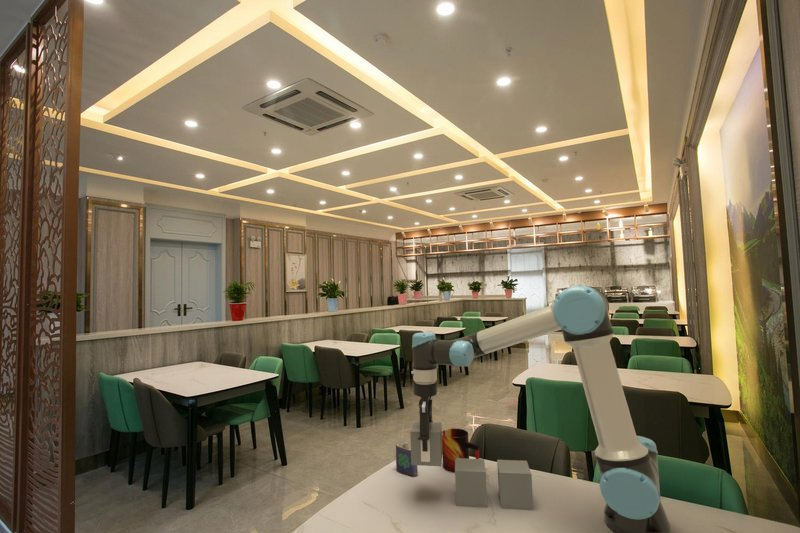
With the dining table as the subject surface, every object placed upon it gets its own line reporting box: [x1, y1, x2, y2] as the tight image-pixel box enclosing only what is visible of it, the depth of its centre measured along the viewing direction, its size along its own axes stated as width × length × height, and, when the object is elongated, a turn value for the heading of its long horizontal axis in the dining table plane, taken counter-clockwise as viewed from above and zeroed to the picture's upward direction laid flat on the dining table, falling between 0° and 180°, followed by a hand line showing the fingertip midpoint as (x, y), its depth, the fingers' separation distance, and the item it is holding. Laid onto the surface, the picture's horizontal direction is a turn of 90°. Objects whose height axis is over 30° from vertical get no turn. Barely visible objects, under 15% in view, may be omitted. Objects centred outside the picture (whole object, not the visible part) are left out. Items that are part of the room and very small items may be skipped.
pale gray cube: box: [454, 458, 488, 508], centre depth 120 cm, size 9×9×10 cm
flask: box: [395, 441, 419, 478], centre depth 138 cm, size 9×3×11 cm, turn 50°
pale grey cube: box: [496, 459, 534, 511], centre depth 118 cm, size 9×9×10 cm
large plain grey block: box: [409, 421, 443, 467], centre depth 123 cm, size 9×9×10 cm
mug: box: [442, 427, 480, 474], centre depth 141 cm, size 10×14×12 cm
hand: (427, 454), depth 122 cm, fingers closed on large plain grey block, 9 cm apart
